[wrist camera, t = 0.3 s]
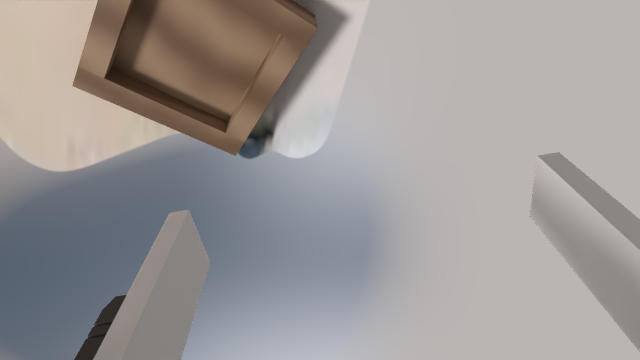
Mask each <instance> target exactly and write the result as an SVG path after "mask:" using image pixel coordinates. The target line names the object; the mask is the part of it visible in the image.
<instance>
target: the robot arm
mask: <svg viewBox="0 0 640 360" xmlns="http://www.w3.org/2000/svg"><path fill="white" fill-rule="evenodd" d="M530 217H531V219H532V220H533V221H534V222H535V224H536V225H537V226H538V227H539V228H540V230H541V231H542V232H543V233H544V234H545V236H546V237H547V238H548V239H549V241H550V242H551V243H552V244H553V246H554V247H555V248H556V249H557V251H558V252H559V253H560V254H561V255H562V257H563V258H564V259H565V260H566V262H567V263H568V264H569V265H570V267H571V268H572V269H573V270H574V272H575V273H576V274H577V275H578V276H579V278H580V279H581V280H582V281H583V283H584V284H585V285H586V286H587V287H588V289H589V290H590V291H591V292H592V294H593V295H594V296H595V297H596V299H597V300H598V301H599V302H600V303H601V305H602V306H603V307H604V308H605V310H606V311H607V312H608V313H609V315H610V316H611V317H612V318H613V320H614V321H615V322H616V323H617V324H618V326H619V327H620V328H621V329H622V331H623V332H624V333H625V334H626V336H627V337H628V338H629V339H630V340H631V342H632V343H633V344H634V345H635V347H636V348H637V349H638V350H639V352H640V219H639V218H637V217H636V216H635V215H634V214H632V213H631V212H630V211H629V210H628V209H627V208H625V207H624V206H623V205H622V204H621V203H619V202H618V201H617V200H616V199H614V198H613V197H612V196H611V195H610V194H609V193H607V192H606V191H605V190H604V189H602V188H601V187H600V186H599V185H597V184H596V183H595V182H594V181H593V180H592V179H590V178H589V177H588V176H587V175H586V174H584V173H583V172H582V171H581V170H580V169H578V168H577V167H576V166H575V165H574V164H572V163H571V162H570V161H569V160H568V159H566V158H565V157H564V156H563V155H561V154H560V153H559V152H558V153H551V154H546V155H539V156H537V162H536V170H535V179H534V186H533V195H532V203H531V210H530ZM209 266H210V261H209V258H208V256H207V253H206V251H205V248H204V246H203V244H202V241H201V239H200V236H199V234H198V231H197V229H196V227H195V224H194V221H193V219H192V217H191V214H190V212H189V210H185V211H178V212H172V213H169V215H168V217H167V219H166V221H165V223H164V225H163V227H162V228H161V230H160V232H159V234H158V236H157V238H156V240H155V242H154V244H153V246H152V248H151V250H150V252H149V253H148V255H147V257H146V259H145V261H144V263H143V265H142V267H141V269H140V271H139V273H138V274H137V276H136V279H135V280H134V282H133V284H132V286H131V288H130V290H129V292H128V294H127V295H124V296H116V297H115V298H114V299H113V300H112V301H111V302H110V303H109V304H108V305H107V306H106V307H105V308H104V309H103V310H102V312H101V313H100V315H99V317H98V319H97V321H96V322H95V324H94V325H95V326H94V327H93V328H92V329H91V331H90V333H89V335H88V339H86V340H85V342H84V344H83V345H82V347H81V349H80V351H79V352H78V354H77V356H76V358H75V359H74V360H181V357H182V354H183V351H184V347H185V344H186V341H187V337H188V334H189V331H190V328H191V325H192V321H193V318H194V315H195V311H196V309H197V305H198V302H199V299H200V295H201V292H202V289H203V286H204V283H205V279H206V276H207V273H208V269H209Z"/></svg>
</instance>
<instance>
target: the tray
mask: <svg viewBox="0 0 640 360" xmlns="http://www.w3.org/2000/svg"><path fill="white" fill-rule="evenodd" d="M316 30H317V24H316V19H315V15H313V14H312V13H310V12H309V11H307V10H306V9H304V8H303V7H301V6H299V5H298V4H296V3H295V2H293V1H292V0H98V2H97V5H96V9H95V12H94V15H93V19H92V22H91V26H90V29H89V32H88V36H87V39H86V42H85V46H84V49H83V52H82V56H81V59H80V62H79V66H78V69H77V72H76V76H75V79H74V83H73V86H74V87H76V88H79V89H81V90H83V91H86V92H88V93H90V94H93V95H95V96H97V97H100V98H102V99H104V100H107V101H109V102H111V103H114V104H116V105H118V106H121V107H123V108H125V109H128V110H130V111H132V112H135V113H137V114H139V115H142V116H144V117H146V118H149V119H151V120H153V121H156V122H158V123H160V124H163V125H165V126H167V127H170V128H172V129H174V130H177V131H179V132H181V133H184V134H186V135H189V136H191V137H193V138H195V139H198V140H200V141H202V142H205V143H207V144H209V145H212V146H214V147H217V148H219V149H221V150H223V151H226V152H228V153H230V154H233V155H236V154H237V153H238V151H239V150H240V148H241V146H242V145H243V143H244V142H245V140H246V139H247V137H248V135H249V134H250V132H251V131H252V129H253V128H254V126H255V125H256V123H257V121H258V120H259V118H260V117H261V115H262V114H263V112H264V111H265V109H266V107H267V106H268V104H269V103H270V101H271V100H272V98H273V97H274V95H275V93H276V92H277V90H278V89H279V87H280V86H281V84H282V83H283V81H284V79H285V78H286V76H287V75H288V73H289V72H290V70H291V69H292V67H293V65H294V64H295V62H296V61H297V59H298V58H299V56H300V55H301V53H302V51H303V50H304V48H305V47H306V45H307V44H308V42H309V41H310V39H311V37H312V36H313V34H314V33H315V31H316Z"/></svg>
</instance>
